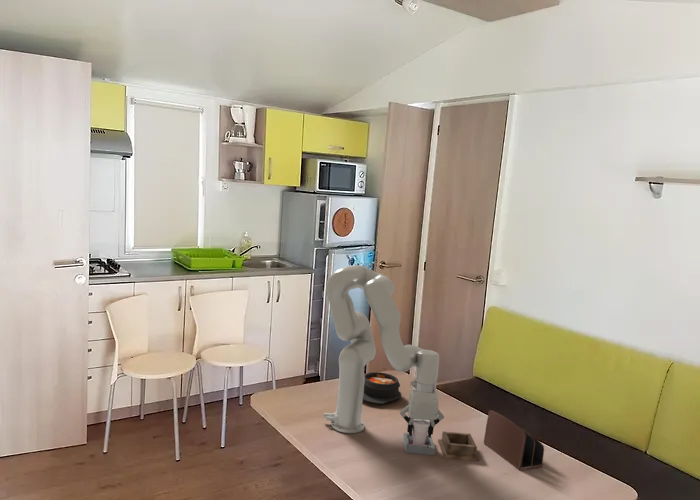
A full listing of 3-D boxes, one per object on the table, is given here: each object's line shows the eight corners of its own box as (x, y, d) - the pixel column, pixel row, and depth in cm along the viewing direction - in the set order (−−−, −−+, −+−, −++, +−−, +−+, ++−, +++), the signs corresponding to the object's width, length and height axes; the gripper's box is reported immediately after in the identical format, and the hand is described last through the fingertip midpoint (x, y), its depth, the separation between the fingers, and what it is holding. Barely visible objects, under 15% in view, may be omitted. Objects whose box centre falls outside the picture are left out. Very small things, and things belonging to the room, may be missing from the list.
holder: (405, 452, 185) (406, 446, 185) (402, 439, 195) (403, 432, 195) (434, 455, 185) (435, 448, 185) (430, 441, 195) (430, 435, 195)
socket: (444, 458, 184) (445, 445, 183) (437, 441, 196) (439, 429, 195) (478, 461, 184) (480, 448, 184) (470, 444, 196) (472, 432, 195)
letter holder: (519, 471, 180) (524, 431, 178) (482, 443, 198) (487, 406, 196) (542, 467, 184) (548, 428, 182) (504, 440, 202) (509, 404, 200)
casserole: (368, 383, 248) (370, 365, 247) (407, 392, 242) (409, 374, 241) (348, 401, 225) (350, 382, 224) (391, 411, 219) (393, 391, 218)
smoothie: (426, 453, 186) (431, 414, 185) (408, 449, 188) (412, 411, 186) (427, 444, 193) (432, 407, 191) (410, 441, 194) (414, 404, 192)
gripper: (401, 387, 184) (396, 438, 186) (452, 392, 184) (446, 442, 186) (399, 380, 191) (394, 428, 193) (447, 384, 191) (442, 432, 193)
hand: (419, 434), depth 190 cm, fingers closed on smoothie, 6 cm apart
